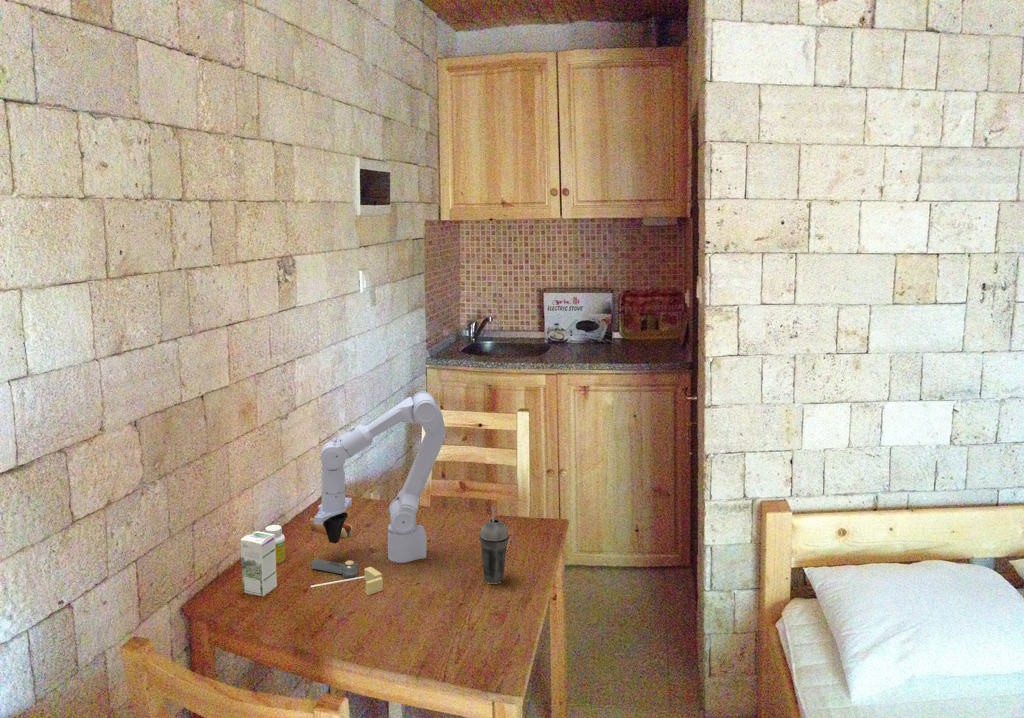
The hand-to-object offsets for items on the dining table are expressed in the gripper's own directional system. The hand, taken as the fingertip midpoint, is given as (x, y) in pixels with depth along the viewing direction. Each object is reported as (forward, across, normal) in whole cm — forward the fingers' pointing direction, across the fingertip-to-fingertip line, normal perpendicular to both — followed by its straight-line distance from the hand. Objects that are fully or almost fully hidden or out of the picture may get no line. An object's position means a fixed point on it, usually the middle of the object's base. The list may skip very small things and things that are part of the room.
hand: (334, 541), depth 208 cm
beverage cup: (+6, -7, +40) cm, 41 cm away
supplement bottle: (+7, +5, -14) cm, 17 cm away
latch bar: (+5, +6, +3) cm, 8 cm away
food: (+7, -16, -11) cm, 21 cm away
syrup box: (+7, +20, -8) cm, 22 cm away
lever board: (+6, +10, +9) cm, 15 cm away
